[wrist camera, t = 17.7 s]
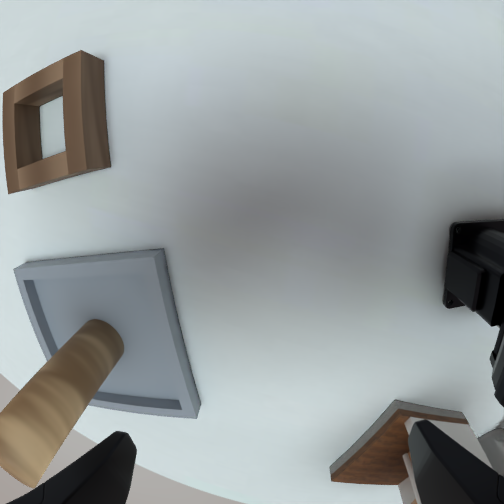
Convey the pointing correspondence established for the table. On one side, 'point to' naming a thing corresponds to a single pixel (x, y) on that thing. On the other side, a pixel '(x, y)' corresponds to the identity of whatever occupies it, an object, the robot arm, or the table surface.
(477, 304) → the robot arm
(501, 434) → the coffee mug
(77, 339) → the oak dowel
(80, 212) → the table surface
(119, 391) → the plastic tray
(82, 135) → the walnut holder
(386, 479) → the spiral staircase model
